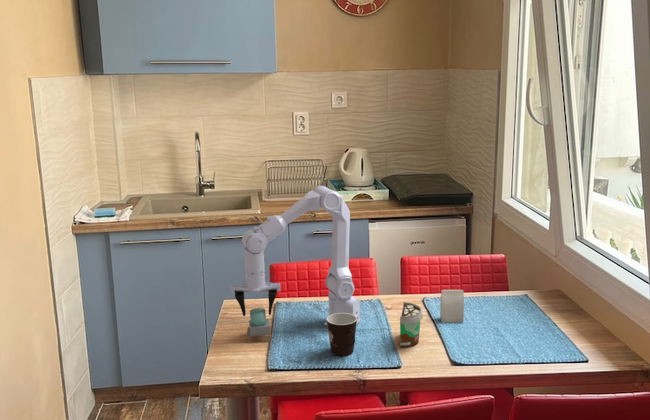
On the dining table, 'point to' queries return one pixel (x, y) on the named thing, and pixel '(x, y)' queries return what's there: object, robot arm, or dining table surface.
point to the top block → (259, 329)
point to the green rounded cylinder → (258, 317)
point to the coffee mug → (342, 333)
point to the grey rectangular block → (452, 306)
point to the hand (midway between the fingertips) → (257, 314)
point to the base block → (258, 337)
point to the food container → (410, 325)
